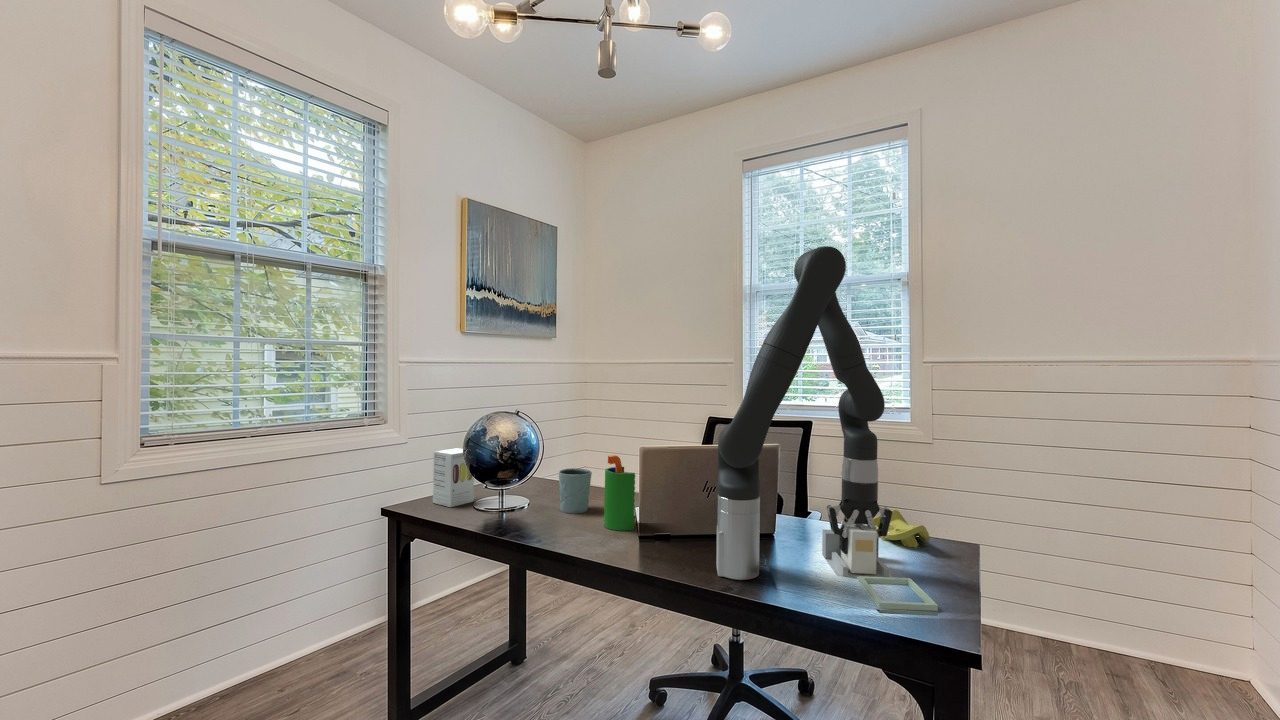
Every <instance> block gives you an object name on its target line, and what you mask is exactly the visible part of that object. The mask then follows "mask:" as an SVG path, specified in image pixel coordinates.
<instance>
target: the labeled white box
mask: <svg viewBox="0 0 1280 720" xmlns="http://www.w3.org/2000/svg"><path fill="white" fill-rule="evenodd" d="M842 521H843V519H842V520H841V523H840V524H841V525H842ZM841 525H840V526H841ZM847 538H848V554H844V553H843V552H842V551H841V559H842V560H843V562H844V563H845V564H846V565H847V567H848V569H849V570H850V572H851V573H867V574H876V555H877V532H876V531H875V530H874V529H870V528H869V527H868V526H867V525H866V524H862V523H859V524H853V527H852V528H848V536H847Z"/></svg>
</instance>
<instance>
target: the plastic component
mask: <svg viewBox="0 0 1280 720" xmlns="http://www.w3.org/2000/svg"><path fill="white" fill-rule="evenodd" d="M890 510H891V509H890ZM891 511H892V517H891V521H890V525H889V529H888V532H889V533H887V535H886V536H881V537H880V538H881V540H883V541H885V542H888V541H898V540H899V541H900V542H901V543H902V545H903V546H905V547H908V548H918V546H919V543H918V540H919V541H921V542H923V543H927V542H930V541H931V537H930V534H929V531H928V529H927V527H925V526H924V525H923V524H918V525H912V524H908V522H907V521H906V519H905V517H903V515H902V514H901V512H900V511H899V510H897V509H892V510H891ZM880 519H881V516H880V515H878V516H877V515H876V516H875V517H874V518H873V520H874V523H875V526H876V530H877V529H878V527H879V523H880ZM915 536H919V537H915ZM917 539H918V540H917Z"/></svg>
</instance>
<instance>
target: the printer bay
mask: <svg viewBox="0 0 1280 720" xmlns="http://www.w3.org/2000/svg"><path fill="white" fill-rule="evenodd" d="M839 538H840V536H839V535H838V534H835V533H834V532H833V531H832V530H831V529H822V543H821V545H822V546H821V548H822V549H821V551H822V552H821V555H822V556H823V559H824V560H825V561H826V562H827V564H828V565H829V566H830V569H832V570H833V572H834V573H835V575H836V577H841V578H842V577H844V578H845V577H848V578H850V577H851V578H858V576H866V577H892V578H895V576H893V575H892V574H891V573H890V568H889V567H888V566H887V564H885V563H884V562H883V561H882V560H881V558H879V538H880V537H879V538H878V545H877V555H876V574H867V573H851V572H850V570H849V569H848V567H847V565H846V564H845V563H844V562H843V560H842V559H841V549H840V547H839Z"/></svg>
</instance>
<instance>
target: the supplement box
mask: <svg viewBox="0 0 1280 720" xmlns="http://www.w3.org/2000/svg"><path fill="white" fill-rule="evenodd" d="M463 449H464V448H460V447H455V448H449V449H448V448H447V449H443V450H435V451H433V465H432V466H433V468H432V469H433V470H432V472H433V475H432V476H433V479H432V481H433V482H432V484H433V485H432V503H433V504H436V505H440V506H445V507H448V508H452V507H453V508H454V507H457V506H461V505H465V504H469V503H474V500H475V498H474V495H475V494H474V493H475V492H474V491H475V477H474V478H473V476H472V475H471V474H470V472H469V470H468V468H467V466H466V463H465V460H464V456H463Z"/></svg>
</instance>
